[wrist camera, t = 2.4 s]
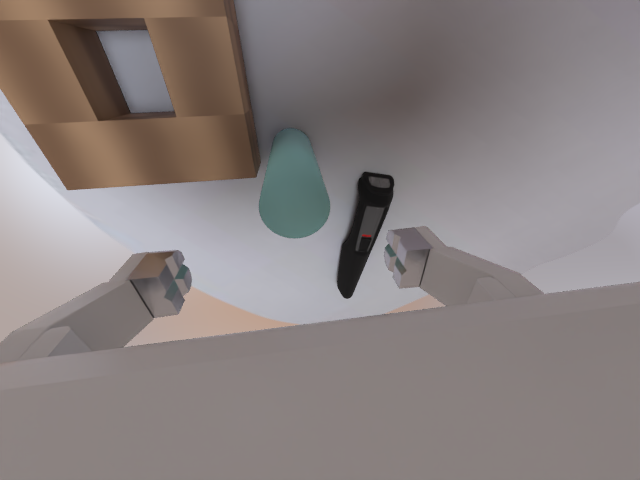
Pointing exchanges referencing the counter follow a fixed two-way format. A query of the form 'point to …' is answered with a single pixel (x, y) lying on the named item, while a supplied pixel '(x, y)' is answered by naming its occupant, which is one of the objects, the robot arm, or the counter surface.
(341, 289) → the electric trimmer
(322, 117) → the counter surface
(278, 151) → the peg
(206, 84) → the socket block
